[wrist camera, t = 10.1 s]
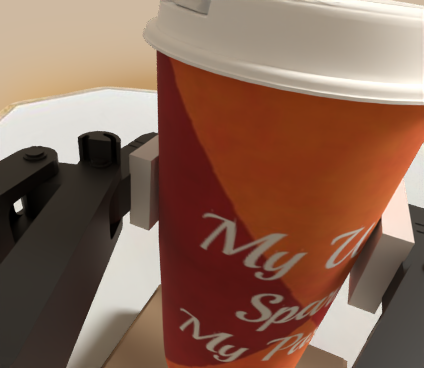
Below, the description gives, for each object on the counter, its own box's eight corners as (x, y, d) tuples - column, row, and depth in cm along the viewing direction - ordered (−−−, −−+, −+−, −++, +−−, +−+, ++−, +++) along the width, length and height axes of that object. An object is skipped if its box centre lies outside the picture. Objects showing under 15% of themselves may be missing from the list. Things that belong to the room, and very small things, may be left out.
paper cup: (185, 496, 11) (294, 0, 4) (116, 309, 16) (101, -42, 9) (353, 387, 15) (581, 29, 7) (251, 263, 20) (320, -14, 13)
